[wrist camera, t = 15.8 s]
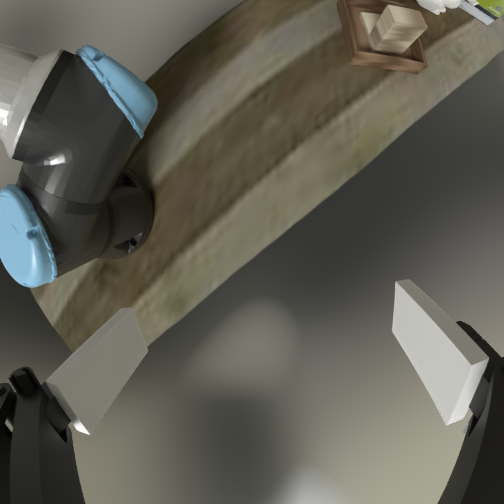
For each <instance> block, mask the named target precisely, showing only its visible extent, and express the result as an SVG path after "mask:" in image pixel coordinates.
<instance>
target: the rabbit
mask: <svg viewBox="0 0 504 504" xmlns="http://www.w3.org/2000/svg"><path fill="white" fill-rule="evenodd" d="M416 1H417V3H418V4H419V5H420V6H421V7H423V8H425V9H428V10H430V11H431V12H433V13H435V14H437V15H439V14H440V12H445V11H446V8H445V7H448V8H457V7H458V6H459V5H460V4H461V1H463V0H416ZM467 1H468V2H469V4H470V5H471V6H475V5H477V4H479V2H477V1H476V0H467Z"/></svg>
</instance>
